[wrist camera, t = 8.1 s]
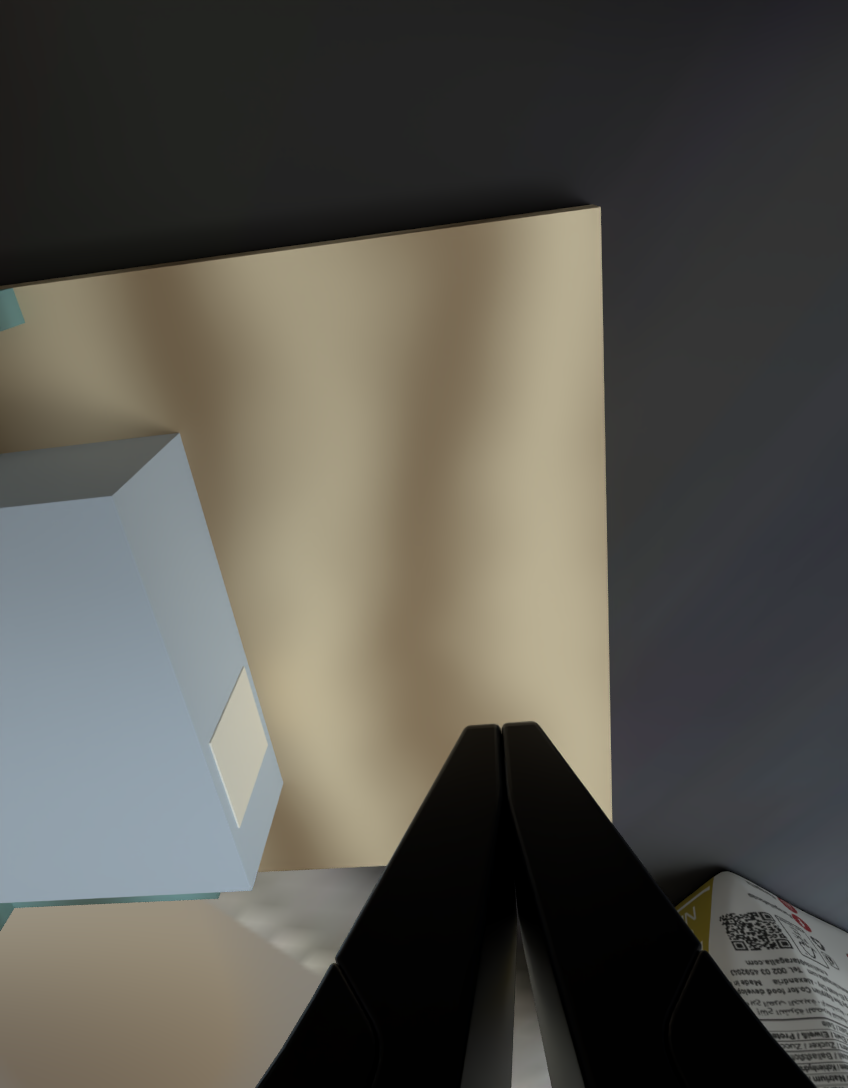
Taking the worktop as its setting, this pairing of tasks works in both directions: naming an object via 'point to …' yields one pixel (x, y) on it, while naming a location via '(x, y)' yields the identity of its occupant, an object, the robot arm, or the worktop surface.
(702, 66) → the worktop surface
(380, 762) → the display board
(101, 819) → the carton
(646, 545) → the worktop surface
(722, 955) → the juice carton
